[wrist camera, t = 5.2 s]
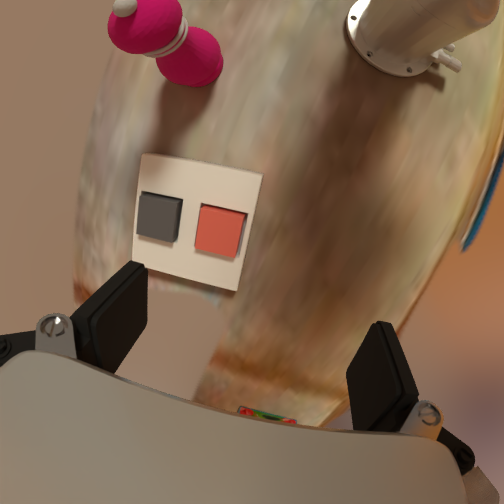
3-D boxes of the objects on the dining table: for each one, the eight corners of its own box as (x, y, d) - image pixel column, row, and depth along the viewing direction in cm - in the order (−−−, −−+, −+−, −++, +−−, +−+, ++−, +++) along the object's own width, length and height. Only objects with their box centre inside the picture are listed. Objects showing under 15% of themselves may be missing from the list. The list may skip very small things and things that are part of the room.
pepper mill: (187, 101, 32) (93, 67, 13) (164, 60, 30) (68, 10, 11) (237, 72, 30) (186, 0, 11) (211, 32, 28) (146, -50, 9)
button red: (246, 213, 35) (243, 218, 32) (237, 250, 37) (234, 258, 34) (206, 204, 35) (200, 208, 32) (200, 241, 37) (194, 248, 34)
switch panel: (263, 173, 34) (262, 175, 32) (239, 281, 40) (236, 291, 37) (152, 152, 35) (141, 153, 32) (141, 255, 40) (132, 263, 37)
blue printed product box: (237, 409, 50) (233, 433, 45) (240, 405, 50) (235, 430, 44) (293, 423, 51) (293, 447, 45) (296, 419, 50) (296, 443, 44)
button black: (183, 199, 35) (176, 203, 32) (178, 236, 37) (171, 242, 34) (148, 192, 35) (139, 195, 33) (144, 228, 37) (136, 234, 34)
